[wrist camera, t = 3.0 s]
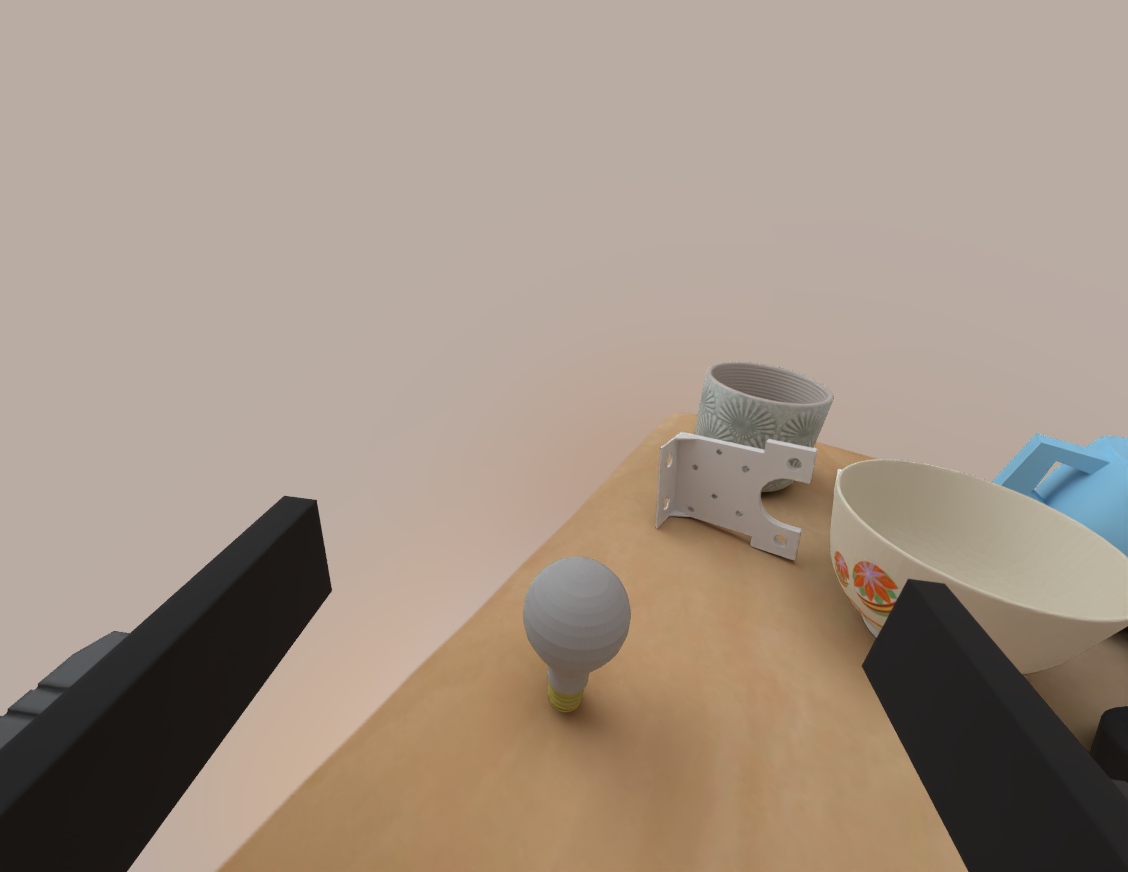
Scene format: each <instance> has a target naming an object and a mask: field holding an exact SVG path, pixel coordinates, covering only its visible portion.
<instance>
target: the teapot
mask: <svg viewBox="0 0 1128 872" xmlns="http://www.w3.org/2000/svg"><path fill="white" fill-rule="evenodd" d="M1055 461H1058V462H1061V463H1063V464H1061V465H1060V466H1059V467H1057V468H1056V469H1055V470H1054V471H1053V472H1052V473H1051V474H1049V475H1048V476H1047V477H1046V478H1045V479H1044V480H1043V481H1042V482H1041V484H1040V485H1039V486H1038V487H1037V488H1036V489H1035V490H1034V488H1035V487H1036V486H1037V484H1038V483H1039V482H1040V481H1041V479H1042V478H1043V477H1044V476H1045V474H1046V473H1047V472H1048V470H1049V469H1050V468H1051V467H1052V465H1053V464H1054V463H1055ZM992 482H993V483H996V484H998V485H1001V486H1004V487H1006V488H1009V489H1011V490H1014V491H1016V492H1019V493H1021V494H1023V495H1026V496H1028V497H1030V498H1032V499H1035V500H1037V501H1039V502H1041V503H1043V504H1045V505H1047V506H1049V507H1051V508H1053V509H1055V510H1057V511H1059V512H1061V513H1063V514H1065V515H1066V516H1068V517H1070V518H1072V519H1074V520H1075V521H1077V522H1079V523H1081V524H1082V525H1084V526H1086V527H1087V528H1089V529H1090V530H1092V531H1093V532H1095V533H1096V534H1098V535H1099V536H1101V537H1102V538H1104V539H1105V540H1106V541H1108V542H1109V543H1110V544H1112V545H1113V546H1114V547H1116V548H1117V549H1118V550H1120V551H1121V552H1122V553H1123V554H1124V555H1125V556H1127V557H1128V438H1122V437H1116V436H1105V437H1101V438H1099V439H1098V440H1096V441H1094V442H1093V443H1091V444H1089V445H1088V446H1087V447H1083V446H1078V445H1075V444H1072V443H1068V442H1065V441H1061V440H1058V439H1054V438H1051V437H1047V436H1044V435H1040V434H1036V435H1035V436H1034V437H1033V438H1032V439H1031V440H1030V441H1029V442H1028V443H1027V444H1026V445H1025V446H1024V448H1023V449H1022V450H1021V451H1020V452H1019V453H1018V454H1017V455H1016V456H1015V457H1014V458H1013V459H1012V460H1011V462H1010V463H1009V464H1008V465H1007V466H1006V467H1005V468H1004V469H1003V470H1002V471H1001V472H1000V473H999V475H998V476H997V477H996V478H995V479H994V480H993V481H992Z"/></svg>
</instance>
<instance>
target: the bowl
mask: <svg viewBox="0 0 1128 872" xmlns="http://www.w3.org/2000/svg"><path fill="white" fill-rule="evenodd" d="M830 552H831V558H832V563H833V567H834V570H835V573H836V576H837V578H838V580H839V583H840V585H841V587H842V588H843V590H844V592H845V594H846V595H847V597H848V598H849V600H850V601H851V603H852V604H853V605H854V607H855V608H856V609H857V610H858V612H859V613H860V614H861V615H862V617H863V620H864V622H865V624H866V625H867V627H868V629H869V630H870V632H871V633H872V634H873V635H874V636H875V637H876V638H877V636H878V634H879V633H880V631H881V629H882V627H883V625H884V623H885V621H886V619H887V617H888V616H889V614H890V612H891V610H892V608H893V606H894V604H895V602H896V600H897V599H898V597H899V595H900V593H901V591H902V589H903V587H904V585H905V583H906V581H907V580H908V579H915V580H922V581H930V582H937V583H945V584H946V585H947V587H948V588H949V589H950V590H951V591H952V592H953V594H954V595H955V596H956V597H957V598H958V600H959V601H960V602H961V603H962V604H963V605H964V607H965V608H966V609H967V610H968V611H969V613H970V614H971V615H972V616H973V617H974V618H975V620H976V621H977V622H978V623H979V624H980V626H981V627H982V628H983V629H984V630H985V631H986V633H987V634H988V635H989V636H990V637H991V638H992V640H993V641H994V642H995V643H996V644H997V646H998V647H999V648H1000V649H1001V650H1002V651H1003V653H1004V654H1005V655H1006V656H1007V657H1008V659H1009V660H1010V661H1011V662H1012V663H1013V664H1014V666H1015V667H1016V668H1017V669H1018V670H1019V672H1020V673H1021V674H1028V673H1034V672H1039V671H1042V670H1045V669H1049V668H1052V667H1055V666H1058V665H1060V664H1062V663H1064V662H1066V661H1068V660H1070V659H1072V658H1074V657H1076V656H1078V655H1080V654H1081V653H1083V652H1085V651H1087V650H1089V649H1091V648H1092V647H1094V646H1096V645H1097V644H1099V643H1101V642H1102V641H1104V640H1106V639H1107V638H1109V637H1110V636H1112V635H1114V634H1115V633H1117V632H1119V631H1120V630H1122V629H1124V628H1125V627H1127V626H1128V557H1127V556H1125V555H1124V554H1123V553H1122V552H1121V551H1120V550H1118V549H1117V548H1116V547H1114V546H1113V545H1112V544H1110V543H1109V542H1108V541H1106V540H1105V539H1104V538H1102V537H1101V536H1099V535H1098V534H1096V533H1095V532H1093V531H1092V530H1090V529H1089V528H1087V527H1086V526H1084V525H1082V524H1081V523H1079V522H1077V521H1075V520H1074V519H1072V518H1070V517H1068V516H1066V515H1065V514H1063V513H1061V512H1059V511H1057V510H1055V509H1053V508H1051V507H1049V506H1047V505H1045V504H1043V503H1041V502H1039V501H1037V500H1035V499H1032V498H1030V497H1028V496H1026V495H1023V494H1021V493H1019V492H1016V491H1014V490H1011V489H1009V488H1006V487H1004V486H1001V485H998V484H996V483H993V482H990V481H987V480H984V479H981V478H979V477H975V476H972V475H968V474H965V473H962V472H958V471H955V470H951V469H947V468H943V467H938V466H934V465H928V464H924V463H918V462H911V461H904V460H889V459H888V460H887V459H876V460H866V461H860V462H856V463H854V464H851V465H849V466H847V467H845V468H844V469H843V470H842V471H841V472H840V473H839V475H838V477H837V480H836V485H835V493H834V501H833V510H832V519H831V531H830Z"/></svg>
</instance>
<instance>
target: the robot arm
mask: <svg viewBox="0 0 1128 872" xmlns="http://www.w3.org/2000/svg"><path fill="white" fill-rule="evenodd" d="M331 591H332V588H331V582H330V576H329V571H328V564H327V558H326V553H325V547H324V541H323V536H322V529H321V524H320V518H319V512H318V506H317V500H312V499H304V498H297V497H289V496H284V497H282V498H281V499H280V500H279V501H278V502H277V503H276V504H275V505H273V506H272V507H271V508H270V509H269V510H268V511H267V512H266V513H264V514H263V515H262V516H261V517H260V518H259V519H258V520H257V521H255V522H254V524H252V525H251V526H250V527H249V528H248V529H247V530H245V531H244V532H243V533H242V534H241V535H240V536H239V537H238V538H236V539H235V540H234V541H233V542H232V543H231V544H230V545H229V546H227V548H225V549H224V550H223V551H222V552H221V553H220V554H219V555H217V556H216V557H215V558H214V559H213V560H212V561H211V562H210V563H208V564H207V565H206V566H205V567H204V568H203V569H202V570H201V571H200V572H198V573H197V574H196V575H195V576H194V577H193V578H192V579H191V580H190V581H188V582H187V583H186V584H185V585H184V586H183V587H182V588H180V589H179V590H178V591H177V592H176V593H175V594H174V595H172V596H171V597H170V598H169V599H168V600H167V601H166V602H165V603H164V604H162V605H161V606H160V607H159V608H158V609H157V610H156V611H155V612H153V613H152V614H151V615H150V616H149V617H148V618H147V619H146V620H144V621H143V622H142V623H141V624H140V625H139V626H138V627H137V628H136V629H134V630H133V631H132V632H131V633H123V632H118V631H113V632H111V633H110V634H108V635H106V636H104V637H103V638H101V639H99V640H97V641H96V642H94V643H92V644H90V645H89V646H87V647H85V648H83V649H82V650H80V651H78V652H76V653H75V654H73V655H72V656H71V657H69V658H68V659H67V660H66V661H65V662H63V663H62V664H61V665H60V666H59V667H57V668H56V669H55V670H54V671H53V672H51V673H50V674H49V675H48V676H47V677H46V678H44V679H43V680H42V681H41V682H39V683H38V687H37V688H36V689H35V690H30V691H29V692H28V693H26V694H25V695H24V696H23V697H22V698H20V699H19V700H18V701H17V702H16V703H14V704H13V705H12V706H11V707H10V708H8V712H7V713H6V714H5V715H4V716H0V872H127V871H128V870H129V868H130V867H131V865H132V864H133V863H134V861H135V860H136V859H137V857H138V856H139V854H140V853H141V852H142V850H143V849H144V848H145V846H146V845H147V843H148V842H149V841H150V839H151V838H152V837H153V835H154V834H155V832H156V831H157V830H158V828H159V827H160V826H161V824H162V823H163V822H164V820H165V819H166V817H167V816H168V814H169V813H170V812H171V811H172V809H173V808H174V806H175V805H176V804H177V802H178V801H179V800H180V798H181V797H182V796H183V794H184V793H185V791H186V790H187V789H188V787H189V786H190V785H191V783H192V782H193V780H194V779H195V778H196V776H197V775H198V774H199V772H200V771H201V769H202V768H203V767H204V765H205V764H206V763H207V761H208V760H209V759H210V757H211V756H212V754H213V753H214V752H215V750H216V749H217V748H218V746H219V745H220V743H221V742H222V741H223V739H224V738H225V736H226V735H227V734H228V732H229V731H230V730H231V728H232V727H233V726H234V724H235V723H236V721H237V720H238V719H239V717H240V716H241V715H242V713H243V712H244V711H245V709H246V708H247V706H248V705H249V703H250V702H251V701H252V700H253V698H254V697H255V695H256V694H257V693H258V691H259V690H260V689H261V687H262V686H263V684H264V683H265V682H266V680H267V679H268V678H269V676H270V675H271V674H272V672H273V671H274V669H275V668H276V667H277V665H278V664H279V663H280V661H281V660H282V658H283V657H284V656H285V654H286V653H287V651H288V650H289V649H290V647H291V646H292V645H293V643H294V642H295V641H296V639H297V638H298V637H299V635H300V634H301V632H302V631H303V630H304V628H305V627H306V625H307V624H308V623H309V621H310V620H311V619H312V617H313V616H314V615H315V613H316V612H317V610H318V609H319V608H320V606H321V605H322V604H323V602H324V601H325V599H326V598H327V597H328V595H329V594H330V593H331ZM862 668H863V669H864V671H865V673H866V675H867V677H868V679H869V681H870V683H871V685H872V687H873V689H874V691H875V693H876V694H877V696H878V698H879V700H880V702H881V704H882V706H883V708H884V710H885V712H886V714H887V716H888V718H889V719H890V721H891V723H892V725H893V727H894V729H895V731H896V733H897V735H898V737H899V739H900V741H901V743H902V744H903V746H904V748H905V750H906V752H907V754H908V756H909V758H910V760H911V762H912V764H913V766H914V768H915V769H916V771H917V773H918V775H919V777H920V779H921V781H922V783H923V785H924V787H925V789H926V791H927V793H928V794H929V796H930V798H931V800H932V802H933V804H934V806H935V808H936V810H937V812H938V814H939V816H940V818H941V820H942V821H943V823H944V825H945V827H946V829H947V831H948V833H949V835H950V837H951V839H952V841H953V843H954V845H955V846H956V848H957V850H958V852H959V854H960V856H961V858H962V860H963V862H964V864H965V866H966V868H967V870H968V871H969V872H1128V783H1127V782H1126V781H1119V780H1113V779H1110V778H1109V777H1108V775H1107V774H1106V773H1105V772H1104V771H1103V770H1102V768H1101V767H1100V766H1099V765H1098V764H1097V762H1096V761H1095V760H1094V759H1093V758H1092V757H1091V755H1090V754H1089V753H1088V752H1087V751H1086V750H1085V748H1084V747H1083V746H1082V745H1081V744H1080V742H1079V741H1078V740H1077V739H1076V738H1075V737H1074V735H1073V734H1072V733H1071V732H1070V731H1069V729H1068V728H1067V727H1066V726H1065V725H1064V724H1063V722H1062V721H1061V720H1060V719H1059V718H1058V716H1057V715H1056V714H1055V713H1054V712H1053V711H1052V709H1051V708H1050V707H1049V706H1048V705H1047V703H1046V702H1045V701H1044V700H1043V699H1042V698H1041V696H1040V695H1039V694H1038V693H1037V692H1036V690H1035V689H1034V688H1033V687H1032V686H1031V685H1030V683H1029V682H1028V681H1027V680H1026V679H1025V677H1024V676H1023V675H1022V674H1021V673H1020V672H1019V670H1018V669H1017V668H1016V667H1015V666H1014V664H1013V663H1012V662H1011V661H1010V660H1009V659H1008V657H1007V656H1006V655H1005V654H1004V653H1003V651H1002V650H1001V649H1000V648H999V647H998V646H997V644H996V643H995V642H994V641H993V640H992V638H991V637H990V636H989V635H988V634H987V633H986V631H985V630H984V629H983V628H982V627H981V626H980V624H979V623H978V622H977V621H976V620H975V618H974V617H973V616H972V615H971V614H970V613H969V611H968V610H967V609H966V608H965V607H964V605H963V604H962V603H961V602H960V601H959V600H958V598H957V597H956V596H955V595H954V594H953V592H952V591H951V590H950V589H949V588H948V587H947V585H946V584H945V583H937V582H930V581H922V580H915V579H908V580H907V581H906V583H905V585H904V587H903V589H902V591H901V593H900V595H899V597H898V599H897V600H896V602H895V604H894V606H893V608H892V610H891V612H890V614H889V616H888V617H887V619H886V621H885V623H884V625H883V627H882V629H881V631H880V633H879V634H878V636H877V638H876V640H875V642H874V644H873V646H872V648H871V650H870V651H869V653H868V655H867V657H866V659H865V661H864V663H863V665H862Z"/></svg>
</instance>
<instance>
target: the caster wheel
mask: <svg viewBox="0 0 1128 872" xmlns="http://www.w3.org/2000/svg"><path fill="white" fill-rule="evenodd" d="M1091 757H1092V758H1093V759H1094V760H1095V761H1096V762H1097V764H1098V765H1099V766H1100V767H1101V768H1102V770H1103V771H1104V772H1105V773H1106V774H1107V775H1108V777H1109V778H1110V779H1113V780H1119V781H1126V782H1127V783H1128V706H1126V707H1116V708H1112V709H1109V710H1107V711H1105V712H1104V713H1103V715H1102V716H1101V719H1100V722H1099V725H1098V729H1097V732H1096V735H1095V738H1094V741H1093V744H1092V747H1091Z"/></svg>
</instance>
